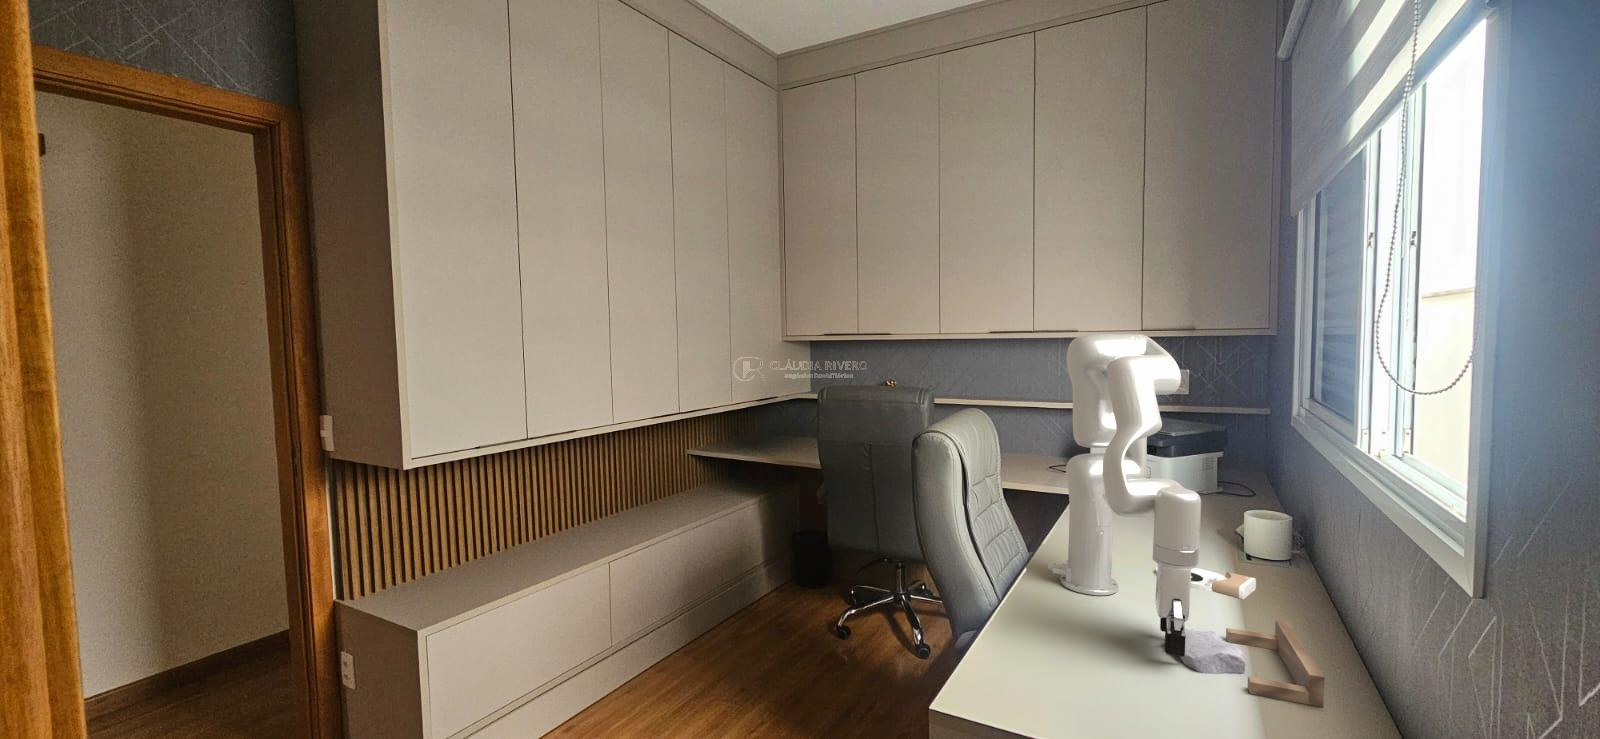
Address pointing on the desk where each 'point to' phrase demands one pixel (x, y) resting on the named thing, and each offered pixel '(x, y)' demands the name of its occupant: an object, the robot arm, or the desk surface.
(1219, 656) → the stone block
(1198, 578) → the record player
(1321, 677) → the walnut frame
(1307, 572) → the desk surface
